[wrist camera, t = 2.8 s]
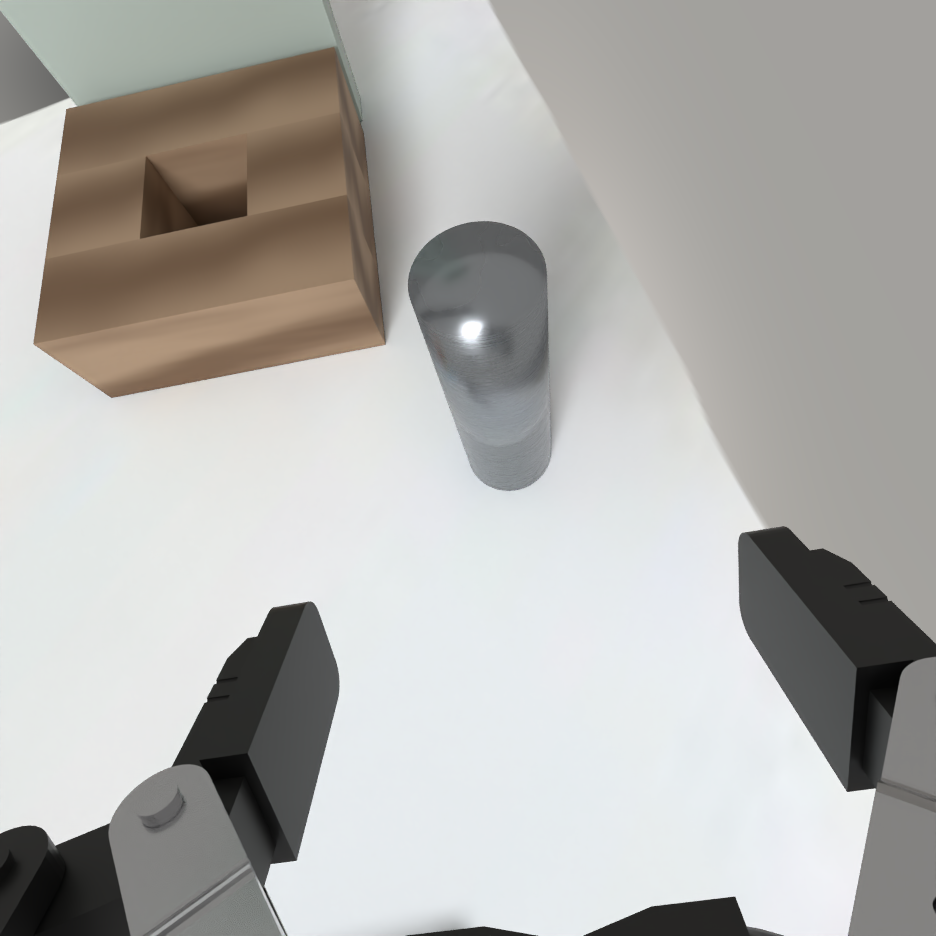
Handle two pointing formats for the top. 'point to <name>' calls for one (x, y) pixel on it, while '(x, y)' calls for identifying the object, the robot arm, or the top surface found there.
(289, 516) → the top surface
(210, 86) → the socket block
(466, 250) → the steel peg
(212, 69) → the pale green block
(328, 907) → the top surface
